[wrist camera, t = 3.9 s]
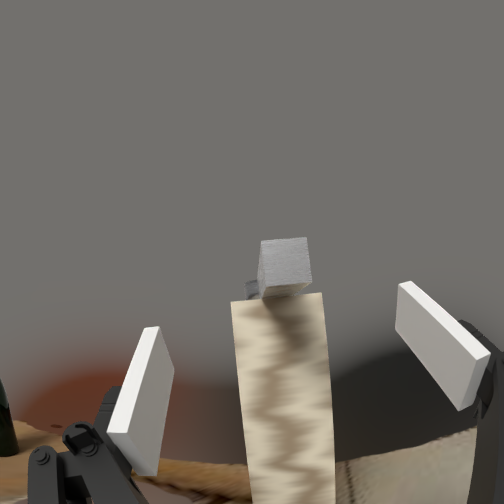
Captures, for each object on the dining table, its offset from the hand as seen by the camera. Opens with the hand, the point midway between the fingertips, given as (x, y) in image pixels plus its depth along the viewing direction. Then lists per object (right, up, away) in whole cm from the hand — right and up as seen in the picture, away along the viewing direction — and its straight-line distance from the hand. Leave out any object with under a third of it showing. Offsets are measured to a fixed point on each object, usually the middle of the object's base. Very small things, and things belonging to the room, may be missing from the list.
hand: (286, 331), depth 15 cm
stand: (+4, -35, +17) cm, 39 cm away
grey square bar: (+1, -1, +18) cm, 18 cm away
